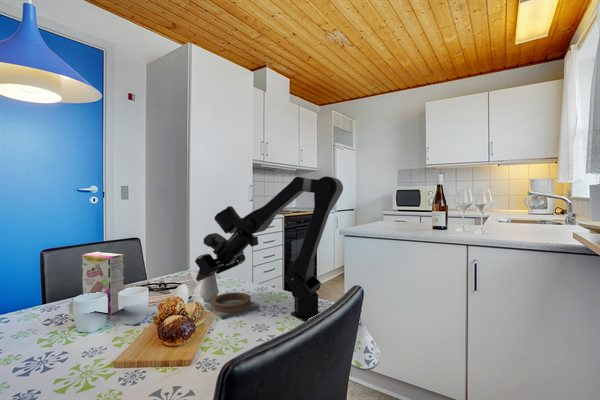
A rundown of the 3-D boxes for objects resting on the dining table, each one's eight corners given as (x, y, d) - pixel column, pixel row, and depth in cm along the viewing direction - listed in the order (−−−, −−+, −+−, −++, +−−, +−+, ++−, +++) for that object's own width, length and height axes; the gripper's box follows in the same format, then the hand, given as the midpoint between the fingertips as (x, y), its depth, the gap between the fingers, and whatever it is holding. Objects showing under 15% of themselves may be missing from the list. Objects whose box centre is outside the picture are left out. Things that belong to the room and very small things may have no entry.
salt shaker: (215, 302, 93) (215, 261, 93) (197, 302, 93) (196, 261, 93) (220, 296, 99) (220, 257, 99) (203, 296, 99) (203, 257, 99)
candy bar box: (81, 310, 87) (80, 254, 87) (98, 304, 92) (97, 251, 91) (109, 315, 83) (109, 257, 83) (125, 309, 88) (124, 253, 88)
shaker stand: (258, 308, 89) (258, 299, 88) (222, 319, 81) (221, 309, 81) (239, 297, 97) (238, 290, 97) (204, 306, 90) (203, 298, 90)
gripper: (237, 222, 103) (211, 252, 107) (200, 228, 85) (171, 263, 90) (257, 247, 100) (230, 276, 104) (223, 258, 82) (191, 292, 87)
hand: (207, 276), depth 96 cm, fingers open, 9 cm apart
